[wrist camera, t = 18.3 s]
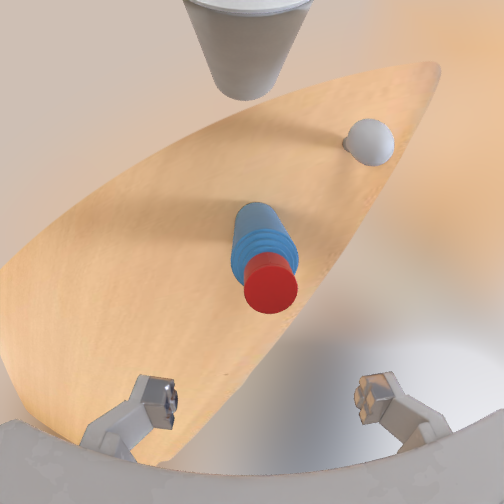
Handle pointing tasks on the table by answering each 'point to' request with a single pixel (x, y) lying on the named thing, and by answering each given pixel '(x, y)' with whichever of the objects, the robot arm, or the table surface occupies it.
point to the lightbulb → (369, 142)
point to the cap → (269, 283)
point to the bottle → (259, 238)
